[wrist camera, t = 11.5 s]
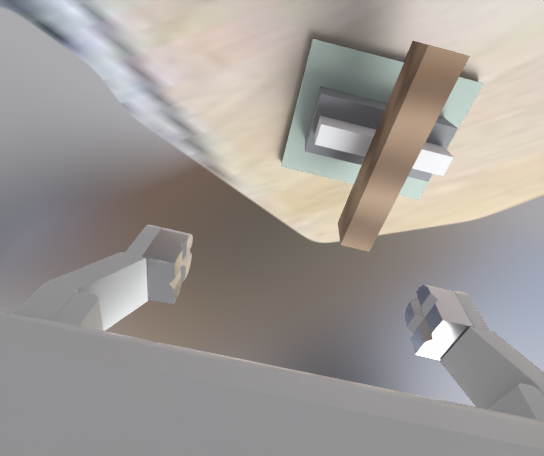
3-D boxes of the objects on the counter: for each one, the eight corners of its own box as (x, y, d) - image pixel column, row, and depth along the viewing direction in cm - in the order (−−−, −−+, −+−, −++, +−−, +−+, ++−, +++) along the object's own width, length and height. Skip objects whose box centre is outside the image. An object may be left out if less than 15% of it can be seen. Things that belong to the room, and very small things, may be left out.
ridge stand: (312, 38, 32) (313, 44, 26) (478, 81, 33) (520, 98, 27) (281, 162, 40) (276, 191, 34) (415, 195, 41) (436, 230, 34)
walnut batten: (412, 40, 25) (428, 45, 22) (448, 50, 25) (469, 56, 22) (337, 223, 35) (340, 244, 32) (363, 229, 35) (369, 251, 32)
